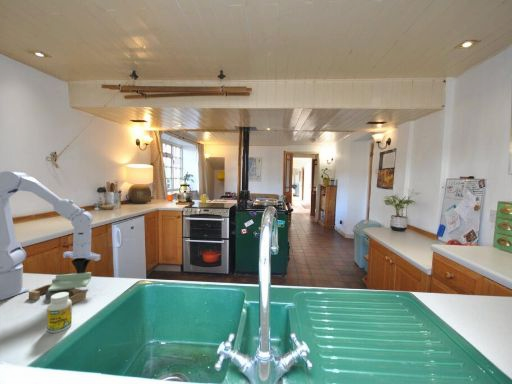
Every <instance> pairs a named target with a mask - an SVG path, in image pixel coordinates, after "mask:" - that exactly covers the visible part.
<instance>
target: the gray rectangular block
mask: <svg viewBox="0 0 512 384" xmlns="http://www.w3.org/2000/svg"><path fill="white" fill-rule="evenodd" d="M60 292H68V293H69V297H72V291H60V290H53V291H48V292H46V293H45V300H51V296H52V295H54V294H56V293H60Z"/></svg>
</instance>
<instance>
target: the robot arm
mask: <svg viewBox="0 0 512 384" xmlns="http://www.w3.org/2000/svg"><path fill="white" fill-rule="evenodd" d="M19 191H20V192H21V191H22V192H30V193H33V194H34V195H36V196H37V197H39V198H40V199H42V200H44V201H45V202H47V203H48V204H49V205H52V206H53V211H54V212H56V213H57V214H59V215H60V216H62V217H63V218H64V219H66V220H68V221H70V223H71V226H72V227H73V233H72V234H73V235H72V237H73V238H72V239H73V241H72V251H69V250H68V251H65V252H63V254H62V257H63V258H64V259H65V258H70V259H72V260H71V264H72V265H73V266H74V268H75V270H76V271H75V272H76V273H86V270H87V269H86V268H87V266H88V265H89V263H90V262H91V261H94V262H95V261H96V262H97V261H100V260H101V254H99V253H95V252H92V223H93V221H94V216H93V214H92V213H91V212H90V211H86V209H84V208H81V207H80V206H78V205H77V204H75V201H74V200H72V199H69V198H60V196H58V195H56V194H55V193H54V192H53V191H52V190H50V189H49V188H48V187H46V185H44V184H43V183H41V182H40V181H38V180H37V179H36V178H35V177H33V176H30V175H29V174H28V173H26V172H23V171H10V170H9V171H8V170H3V171H0V301H4V300H6V299H8V298H12V297H14V296H17V295H20V294H22V293H26V292H29V291H30V289H29V288H26V287H23V286H24V285H23V283H24V282H23V281H24V280H23V279H24V277H23V275H24V265H23V262H24V261H25V260H26V258H27V252H26V251H25V249H24V248H22V244H21V242H19V241H18V240H17V237H16V230H15V226H14V221H13V220H14V219H13V215H12V209H11V205H10V201H9V200H10V198H11V197H12V196H13V195H14V194H16V193H17V192H19Z"/></svg>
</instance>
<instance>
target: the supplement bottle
mask: <svg viewBox="0 0 512 384" xmlns="http://www.w3.org/2000/svg"><path fill="white" fill-rule="evenodd" d="M68 298H69V293H68V292H60V293H56V294H54V295H52V296H51V299H50V303H49V304H48V306H47V311H46V312H47V317H46V318H47V319H46V321H47V322H46V323H47V324H46V326H47V327H46V329H47V332H48V333H52V334H55V333H60V332H64V331H65V330H68V329H69V328H70V327H71V325H72V317H73V316H72V315H73V313H72V312H73V310H72V309H73V304H72V301H71V300H70V299H68Z"/></svg>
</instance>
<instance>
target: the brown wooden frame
mask: <svg viewBox="0 0 512 384" xmlns="http://www.w3.org/2000/svg"><path fill="white" fill-rule="evenodd" d="M52 284H53V283H52V282H51V283H48V284H46V285H42V286H40V287H37V288H34V289H32V290H28V299H30V300H34V301H37V300H39V299H40V298H41V295H44V294H46V293H47V292H49V291H48V289H49V288H50V287H51V286H52ZM60 291H72V297H69V298H68V299H70V300H71V301H72V305H73V304H75V303H78V302H80V301H82V300H84V299H86V298H87V290H83V289H80V288H71V289H62V290H60ZM45 292H46V293H45ZM40 294H41V295H40Z"/></svg>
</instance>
